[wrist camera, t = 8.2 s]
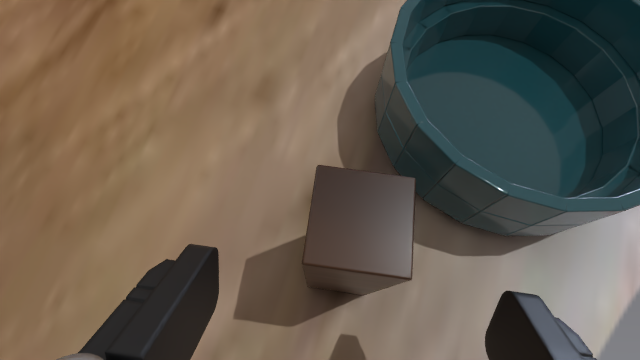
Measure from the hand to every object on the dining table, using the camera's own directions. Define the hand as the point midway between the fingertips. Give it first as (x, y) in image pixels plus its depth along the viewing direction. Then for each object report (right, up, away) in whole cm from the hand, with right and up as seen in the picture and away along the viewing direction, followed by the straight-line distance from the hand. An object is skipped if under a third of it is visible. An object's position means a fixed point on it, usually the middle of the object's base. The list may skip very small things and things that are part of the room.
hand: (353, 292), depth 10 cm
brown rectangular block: (0, -1, +8) cm, 8 cm away
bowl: (+10, +7, +12) cm, 17 cm away
